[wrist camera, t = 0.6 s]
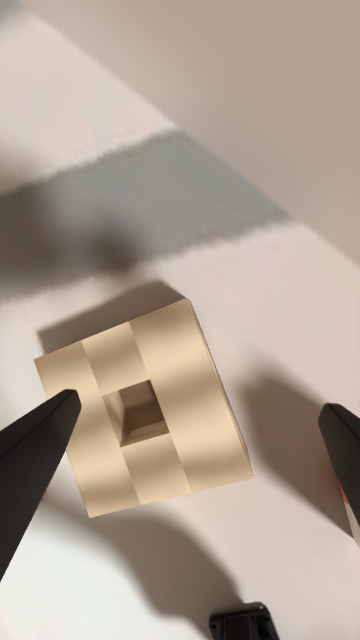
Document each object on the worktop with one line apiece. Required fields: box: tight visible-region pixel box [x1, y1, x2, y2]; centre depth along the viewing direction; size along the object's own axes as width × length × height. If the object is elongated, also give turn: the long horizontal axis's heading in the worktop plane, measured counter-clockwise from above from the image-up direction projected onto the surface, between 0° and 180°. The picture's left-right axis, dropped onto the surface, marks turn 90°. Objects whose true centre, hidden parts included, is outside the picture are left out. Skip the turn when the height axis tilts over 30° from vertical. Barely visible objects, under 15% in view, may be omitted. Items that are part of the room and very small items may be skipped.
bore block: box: [34, 299, 254, 518], centre depth 21 cm, size 16×16×4 cm
